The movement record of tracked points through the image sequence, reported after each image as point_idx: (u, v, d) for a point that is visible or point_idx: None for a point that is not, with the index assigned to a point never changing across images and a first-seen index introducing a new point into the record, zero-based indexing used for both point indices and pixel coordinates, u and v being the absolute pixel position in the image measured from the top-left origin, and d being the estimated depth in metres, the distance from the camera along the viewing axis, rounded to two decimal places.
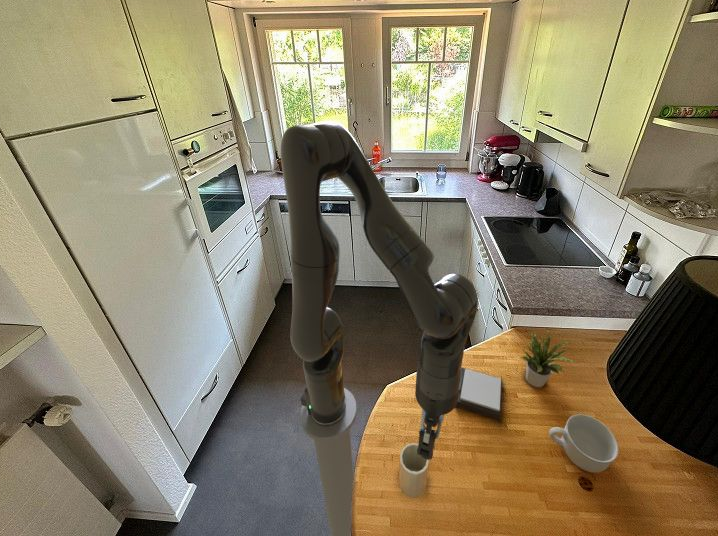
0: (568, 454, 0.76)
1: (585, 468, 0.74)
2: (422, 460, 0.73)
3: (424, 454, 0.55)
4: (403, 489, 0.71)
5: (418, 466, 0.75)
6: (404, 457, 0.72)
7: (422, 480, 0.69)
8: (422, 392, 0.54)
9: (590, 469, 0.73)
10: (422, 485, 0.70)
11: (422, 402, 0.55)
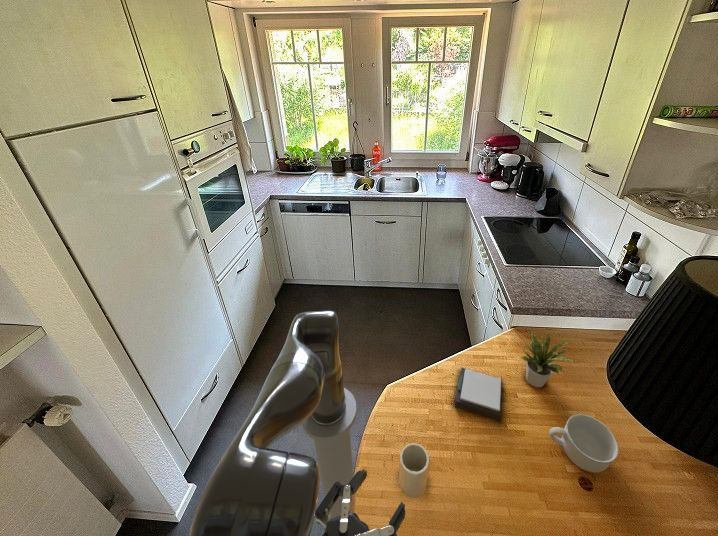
0: (568, 454, 0.76)
1: (585, 468, 0.74)
2: (422, 460, 0.73)
3: None
4: (403, 489, 0.71)
5: (418, 466, 0.75)
6: (404, 457, 0.72)
7: (422, 480, 0.69)
8: None
9: (590, 469, 0.73)
10: (422, 485, 0.70)
11: None
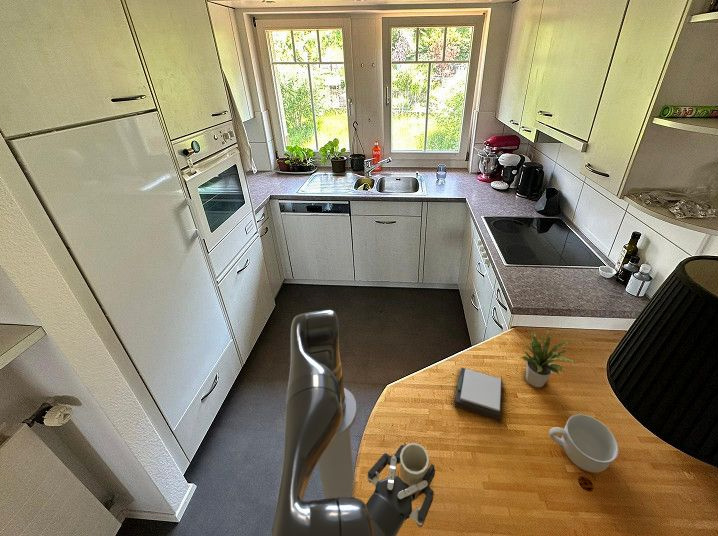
0: (568, 454, 0.76)
1: (585, 468, 0.74)
2: (422, 460, 0.73)
3: None
4: None
5: (418, 466, 0.75)
6: (404, 457, 0.72)
7: (422, 480, 0.69)
8: None
9: (590, 469, 0.73)
10: None
11: (368, 500, 0.64)
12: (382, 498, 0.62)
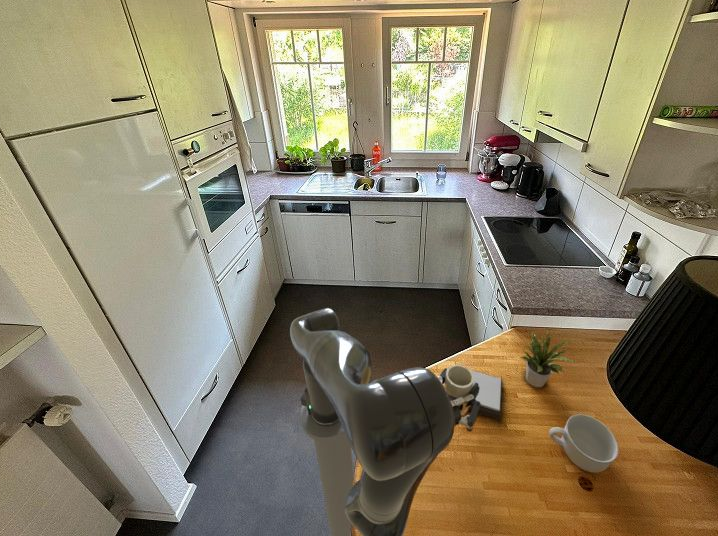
0: (568, 454, 0.76)
1: (585, 468, 0.74)
2: (465, 382, 0.77)
3: None
4: None
5: None
6: (448, 378, 0.77)
7: None
8: None
9: (590, 469, 0.73)
10: None
11: None
12: None
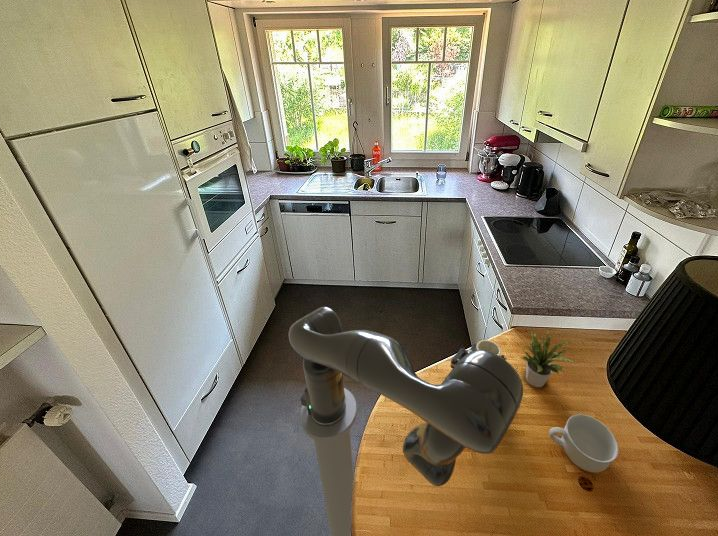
0: (568, 454, 0.76)
1: (585, 468, 0.74)
2: None
3: None
4: None
5: None
6: None
7: None
8: None
9: (590, 469, 0.73)
10: None
11: None
12: None
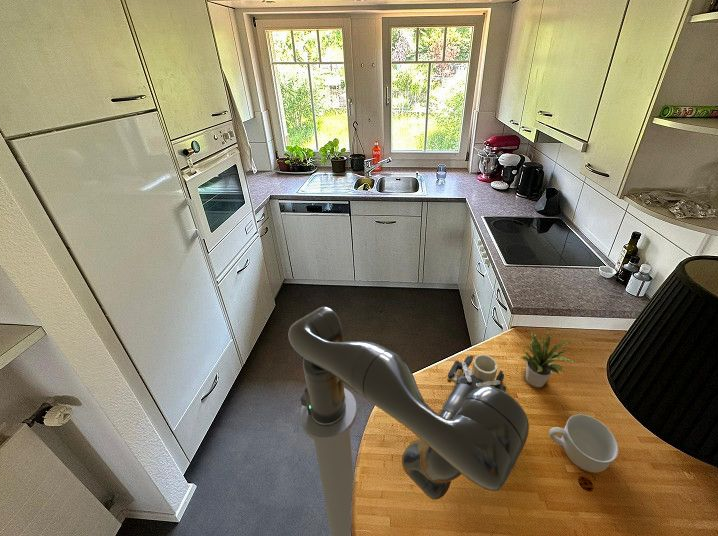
0: (568, 454, 0.76)
1: (585, 468, 0.74)
2: (489, 369, 0.91)
3: None
4: None
5: None
6: None
7: (492, 380, 0.87)
8: (450, 395, 0.80)
9: (590, 469, 0.73)
10: None
11: (454, 388, 0.81)
12: (466, 385, 0.80)
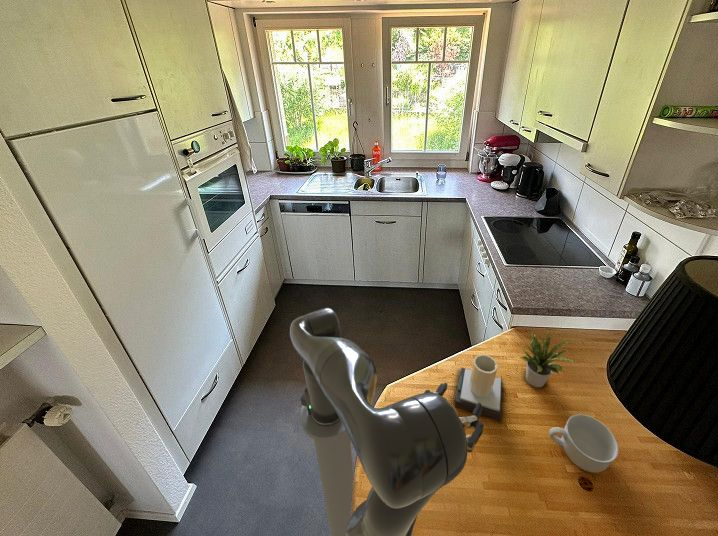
0: (568, 454, 0.76)
1: (585, 468, 0.74)
2: (489, 369, 0.91)
3: None
4: (475, 390, 0.89)
5: None
6: None
7: (492, 380, 0.87)
8: None
9: (590, 469, 0.73)
10: (491, 385, 0.88)
11: None
12: None
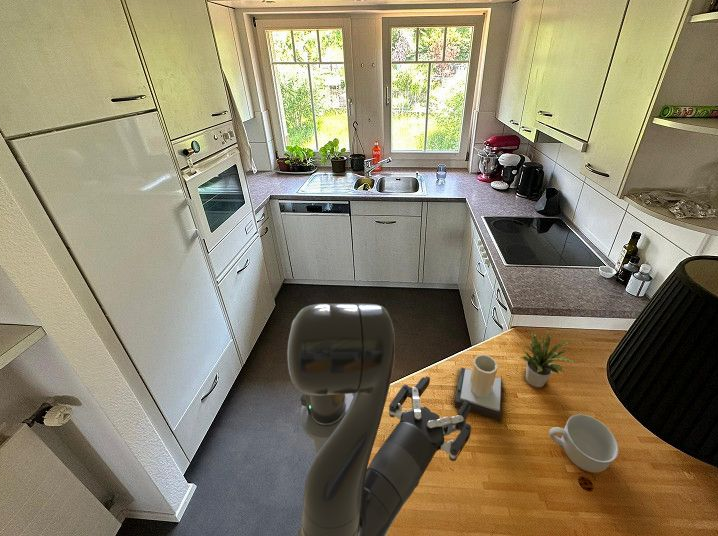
0: (568, 454, 0.76)
1: (585, 468, 0.74)
2: (489, 369, 0.91)
3: None
4: (475, 390, 0.89)
5: None
6: None
7: (492, 380, 0.87)
8: (385, 441, 0.53)
9: (590, 469, 0.73)
10: (491, 385, 0.88)
11: None
12: (410, 425, 0.54)
